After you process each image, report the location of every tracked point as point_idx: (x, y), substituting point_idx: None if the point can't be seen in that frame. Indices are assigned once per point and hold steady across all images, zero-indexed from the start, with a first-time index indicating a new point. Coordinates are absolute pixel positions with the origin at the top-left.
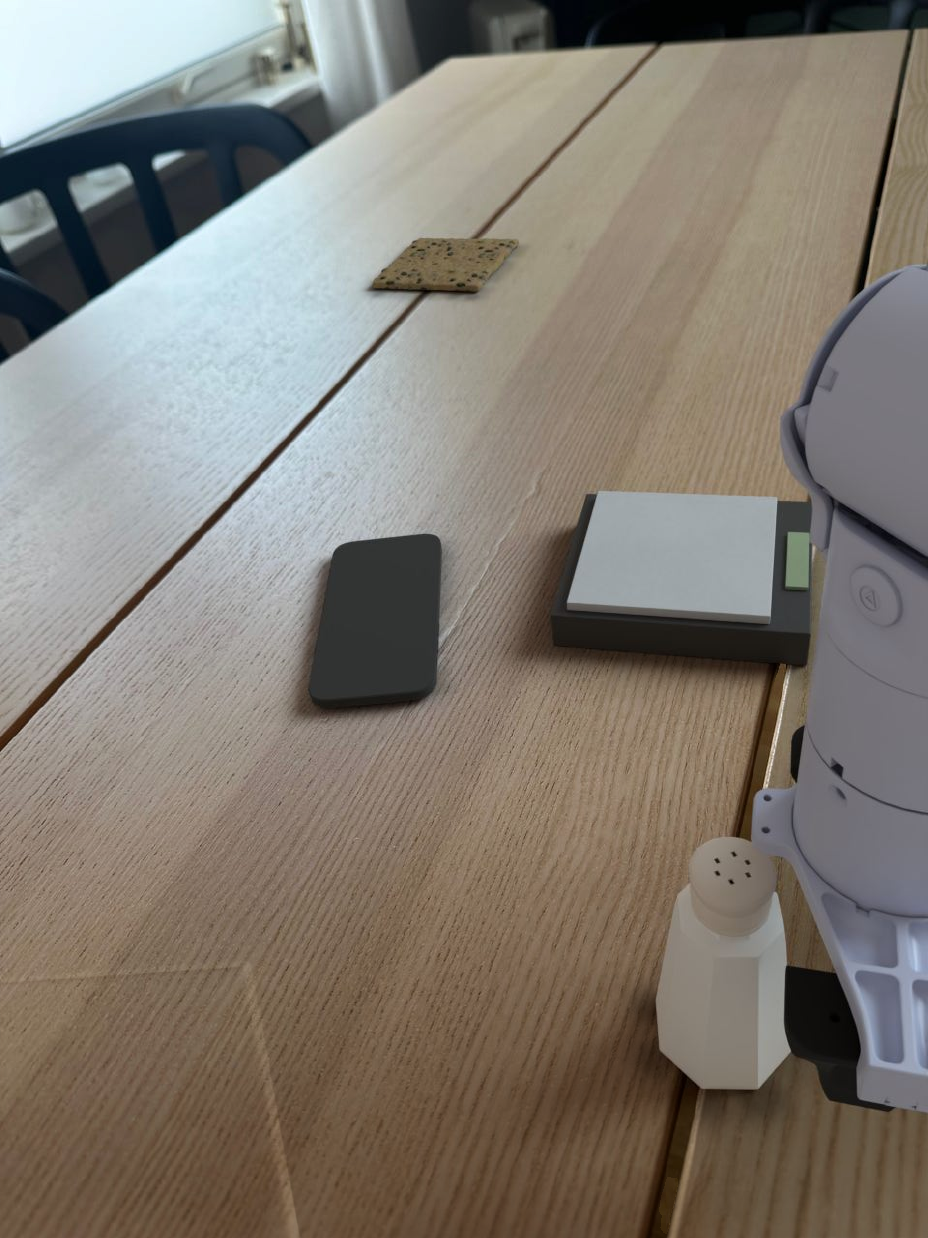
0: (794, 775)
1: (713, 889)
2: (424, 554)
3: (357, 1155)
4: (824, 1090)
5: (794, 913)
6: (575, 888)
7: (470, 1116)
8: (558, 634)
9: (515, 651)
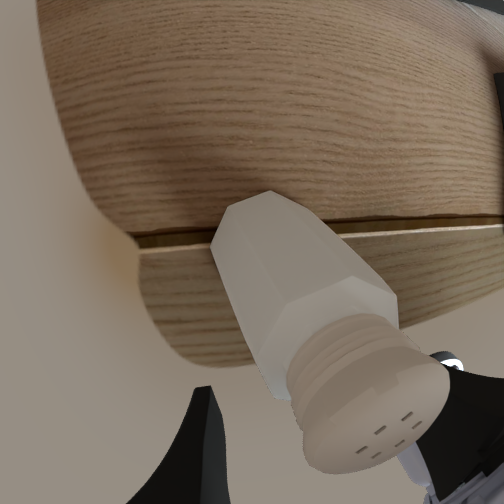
0: (500, 419)
1: (342, 443)
2: (500, 4)
3: (81, 38)
4: (192, 397)
5: None
6: (347, 98)
7: (124, 85)
8: (502, 76)
9: (482, 49)
